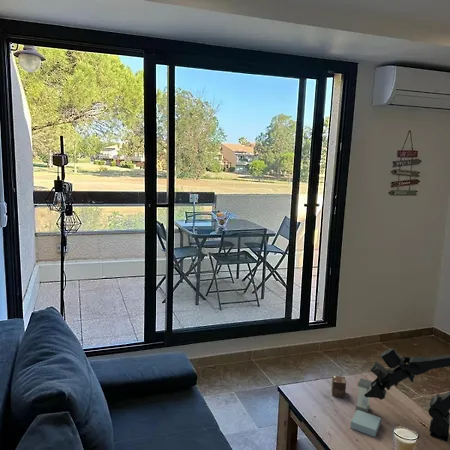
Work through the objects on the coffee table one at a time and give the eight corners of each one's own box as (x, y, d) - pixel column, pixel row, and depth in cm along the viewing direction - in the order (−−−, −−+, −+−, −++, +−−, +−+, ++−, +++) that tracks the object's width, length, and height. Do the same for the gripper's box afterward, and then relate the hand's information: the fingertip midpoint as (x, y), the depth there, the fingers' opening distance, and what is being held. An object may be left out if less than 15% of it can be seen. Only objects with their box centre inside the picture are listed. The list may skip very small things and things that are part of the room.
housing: (369, 408, 186) (372, 381, 184) (367, 413, 182) (369, 386, 180) (358, 404, 188) (360, 378, 186) (355, 409, 184) (358, 382, 182)
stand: (380, 424, 174) (380, 417, 174) (375, 437, 166) (375, 430, 165) (356, 415, 180) (357, 409, 179) (350, 428, 171) (350, 421, 171)
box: (345, 398, 193) (346, 383, 192) (332, 396, 194) (333, 381, 193) (344, 391, 199) (345, 377, 198) (331, 389, 200) (332, 375, 199)
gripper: (387, 351, 185) (360, 367, 193) (379, 368, 170) (349, 384, 177) (404, 373, 182) (376, 387, 190) (397, 392, 167) (366, 407, 174)
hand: (367, 391), depth 183 cm, fingers open, 9 cm apart
